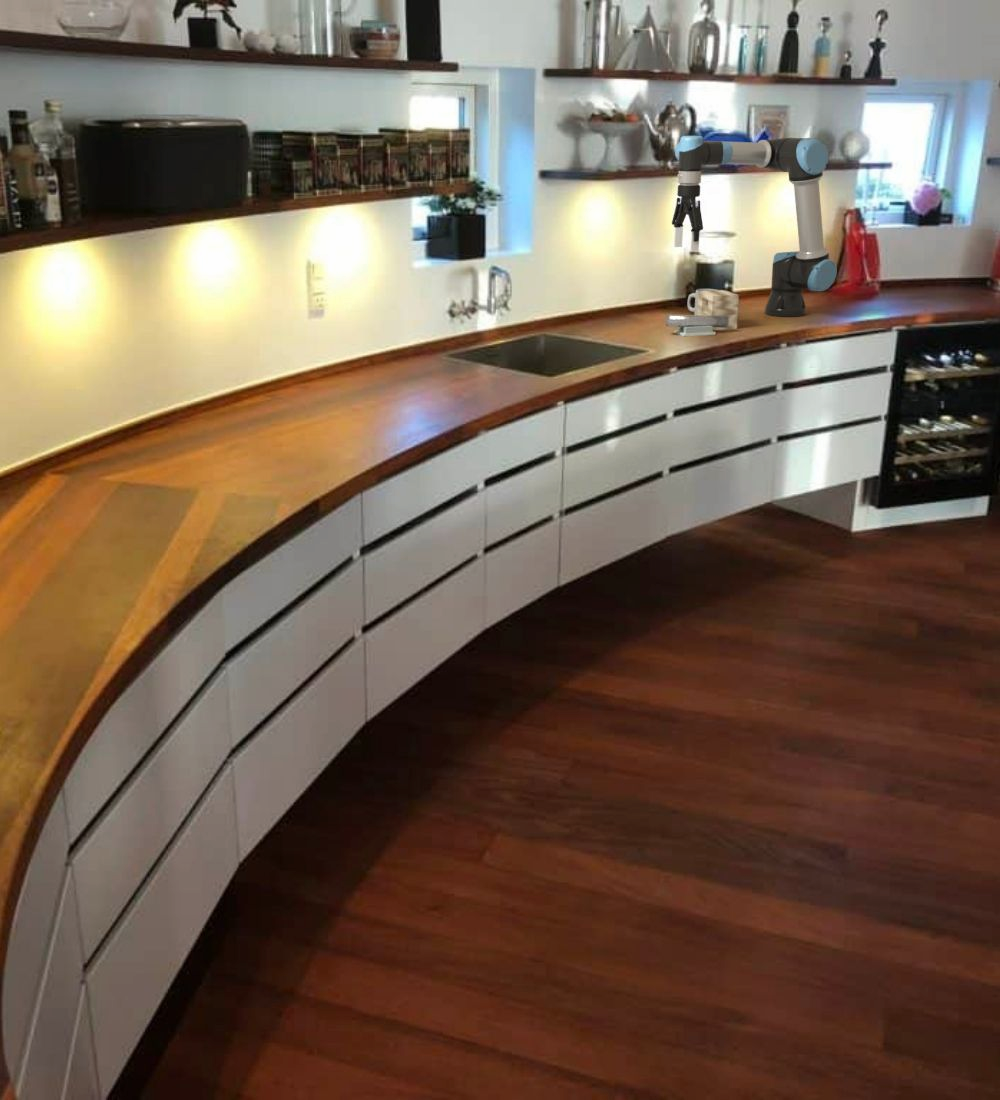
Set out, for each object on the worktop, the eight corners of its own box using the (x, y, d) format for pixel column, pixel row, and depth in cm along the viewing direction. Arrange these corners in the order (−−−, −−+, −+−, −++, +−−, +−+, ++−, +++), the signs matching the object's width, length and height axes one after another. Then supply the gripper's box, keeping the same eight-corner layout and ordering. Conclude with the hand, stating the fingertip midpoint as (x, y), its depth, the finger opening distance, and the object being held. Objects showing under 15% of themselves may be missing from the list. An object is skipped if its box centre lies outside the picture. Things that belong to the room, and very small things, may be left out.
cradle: (705, 330, 428) (706, 322, 427) (715, 334, 421) (716, 326, 420) (674, 332, 425) (674, 324, 424) (683, 336, 418) (684, 328, 417)
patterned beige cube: (721, 323, 442) (723, 289, 438) (736, 328, 432) (738, 294, 427) (696, 324, 440) (698, 291, 436) (710, 330, 429) (712, 296, 425)
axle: (723, 326, 427) (724, 315, 426) (728, 327, 424) (729, 316, 423) (665, 325, 421) (666, 314, 420) (670, 326, 418) (671, 315, 417)
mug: (721, 319, 449) (723, 289, 446) (710, 323, 443) (712, 292, 439) (692, 316, 456) (693, 287, 452) (681, 319, 450) (683, 289, 446)
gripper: (664, 182, 417) (661, 245, 424) (694, 187, 394) (691, 253, 402) (684, 181, 419) (681, 244, 426) (715, 186, 396) (711, 252, 404)
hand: (686, 249), depth 414 cm, fingers open, 13 cm apart
